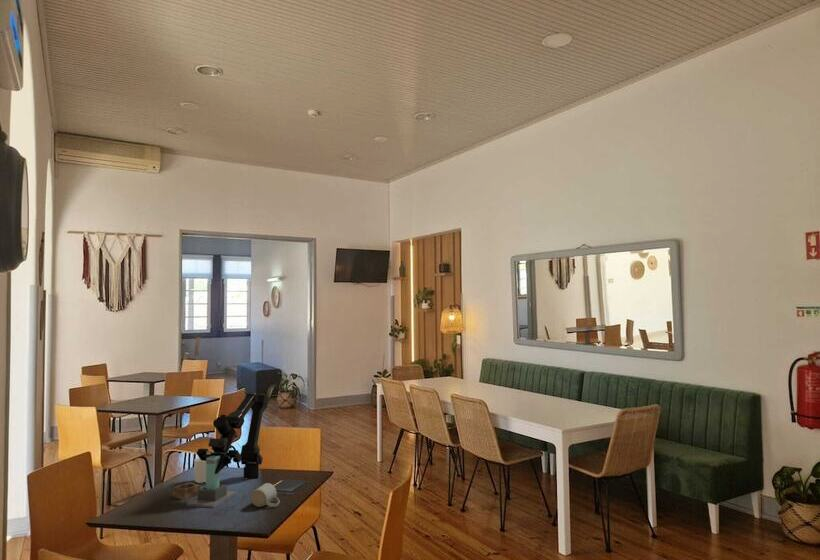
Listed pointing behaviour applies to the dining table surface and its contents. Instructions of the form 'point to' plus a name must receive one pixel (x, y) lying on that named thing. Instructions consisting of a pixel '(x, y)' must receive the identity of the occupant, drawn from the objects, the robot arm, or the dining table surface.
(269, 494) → the ceramic mug
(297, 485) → the grey flat slab
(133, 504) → the dining table surface
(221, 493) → the port board
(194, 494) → the holster
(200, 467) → the white cup
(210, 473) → the plug
